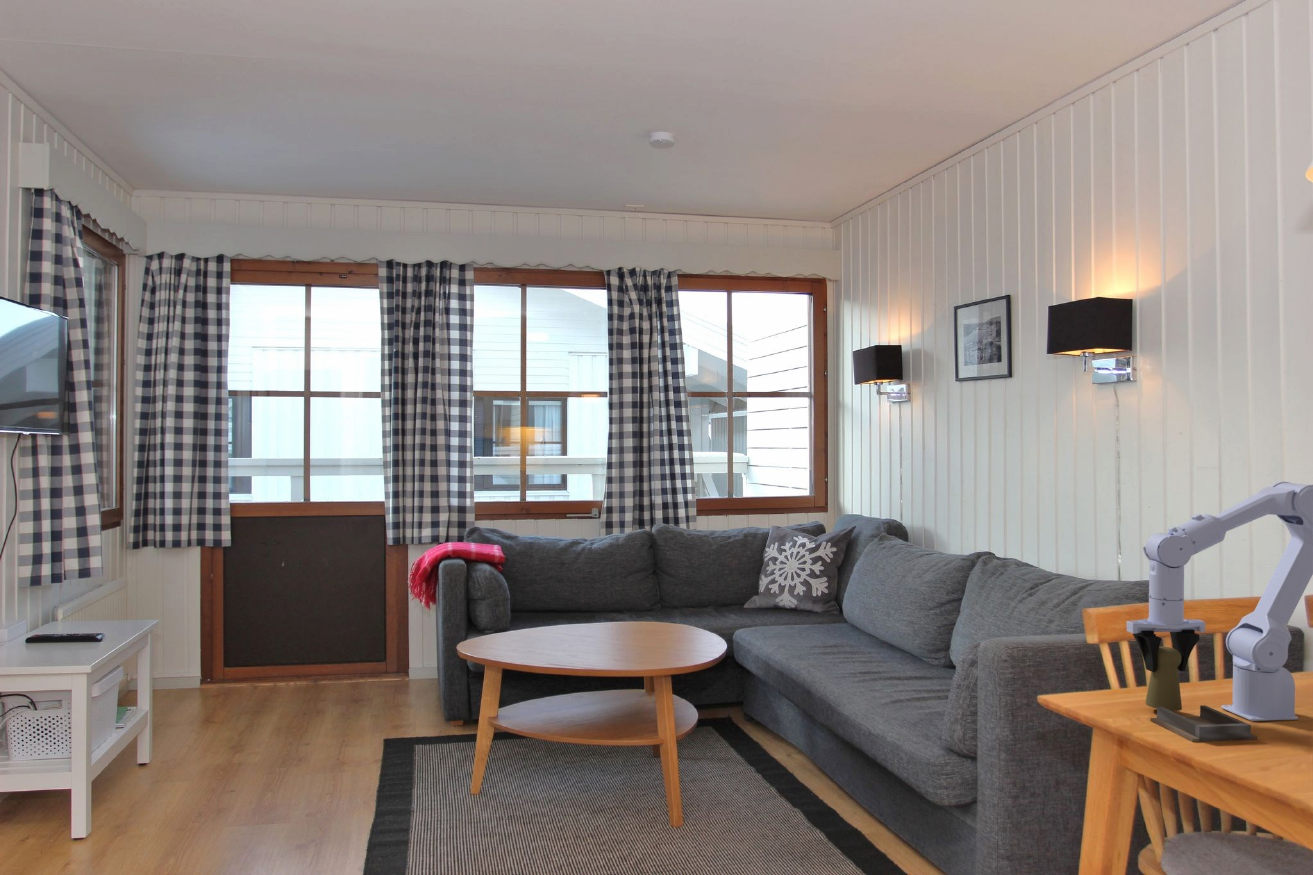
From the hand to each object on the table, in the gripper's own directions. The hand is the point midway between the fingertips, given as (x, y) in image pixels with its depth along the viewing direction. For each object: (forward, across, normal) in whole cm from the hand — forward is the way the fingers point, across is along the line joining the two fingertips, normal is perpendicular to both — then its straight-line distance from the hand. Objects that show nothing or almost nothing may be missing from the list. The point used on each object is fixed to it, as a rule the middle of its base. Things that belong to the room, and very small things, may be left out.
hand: (1165, 670), depth 171 cm
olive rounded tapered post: (+7, 0, 0) cm, 7 cm away
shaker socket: (+8, 0, +9) cm, 12 cm away
